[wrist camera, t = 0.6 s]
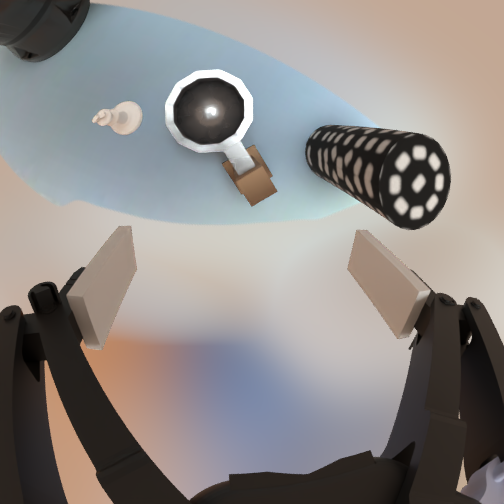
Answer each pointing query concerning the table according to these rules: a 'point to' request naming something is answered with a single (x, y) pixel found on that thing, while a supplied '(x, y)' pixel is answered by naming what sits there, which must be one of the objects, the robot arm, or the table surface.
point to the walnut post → (253, 178)
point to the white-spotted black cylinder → (384, 170)
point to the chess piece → (121, 117)
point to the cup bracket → (211, 115)
